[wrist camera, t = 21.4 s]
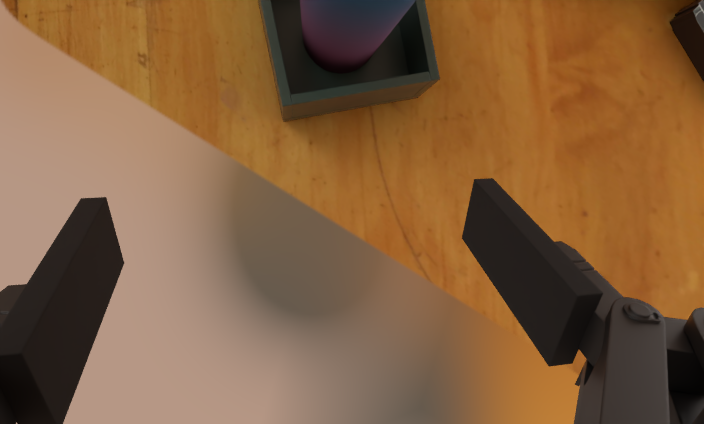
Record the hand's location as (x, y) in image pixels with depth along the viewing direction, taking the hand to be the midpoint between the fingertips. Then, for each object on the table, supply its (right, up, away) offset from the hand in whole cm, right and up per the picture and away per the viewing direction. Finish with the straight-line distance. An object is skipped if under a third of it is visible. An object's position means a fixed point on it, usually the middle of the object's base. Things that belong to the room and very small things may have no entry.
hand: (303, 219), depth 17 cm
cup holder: (+1, +12, +15) cm, 19 cm away
